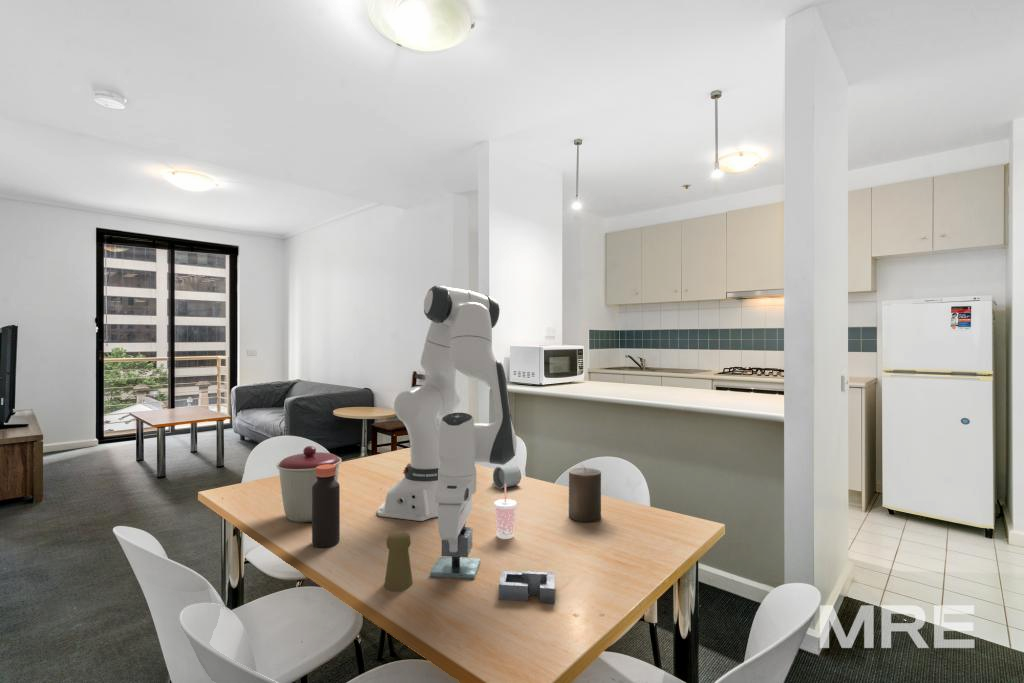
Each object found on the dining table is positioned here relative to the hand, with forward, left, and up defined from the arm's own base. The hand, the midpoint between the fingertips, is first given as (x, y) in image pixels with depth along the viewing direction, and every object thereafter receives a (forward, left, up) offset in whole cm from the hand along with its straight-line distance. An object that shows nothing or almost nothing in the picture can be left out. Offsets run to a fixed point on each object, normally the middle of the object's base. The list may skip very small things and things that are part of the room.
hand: (457, 544), depth 116 cm
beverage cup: (+9, +21, -6) cm, 23 cm away
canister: (-51, +29, -6) cm, 59 cm away
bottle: (-37, +11, -6) cm, 39 cm away
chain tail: (+16, -9, -6) cm, 19 cm away
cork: (-11, -8, -6) cm, 15 cm away
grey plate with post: (0, 0, -6) cm, 6 cm away
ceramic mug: (+3, +67, -6) cm, 67 cm away
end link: (0, 0, -2) cm, 2 cm away
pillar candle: (+31, +38, -6) cm, 49 cm away
